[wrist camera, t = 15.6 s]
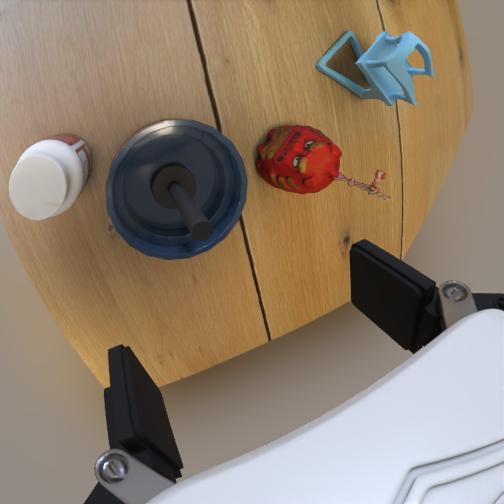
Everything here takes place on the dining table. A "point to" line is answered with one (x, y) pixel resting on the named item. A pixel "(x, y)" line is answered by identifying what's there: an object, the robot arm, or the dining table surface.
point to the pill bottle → (50, 176)
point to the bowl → (206, 196)
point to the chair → (382, 66)
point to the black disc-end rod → (180, 197)
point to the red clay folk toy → (304, 161)
